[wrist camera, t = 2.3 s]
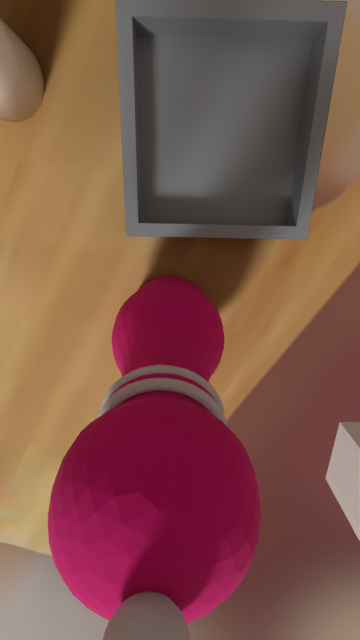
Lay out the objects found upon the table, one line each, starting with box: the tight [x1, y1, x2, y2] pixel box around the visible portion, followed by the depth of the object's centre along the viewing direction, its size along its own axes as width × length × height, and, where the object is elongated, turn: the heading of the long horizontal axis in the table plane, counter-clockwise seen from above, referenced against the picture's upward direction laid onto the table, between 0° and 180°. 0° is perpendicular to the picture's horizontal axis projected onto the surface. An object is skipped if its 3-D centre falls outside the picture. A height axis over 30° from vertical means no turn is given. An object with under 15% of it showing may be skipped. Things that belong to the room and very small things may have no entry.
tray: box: [116, 0, 347, 240], centre depth 18 cm, size 12×12×2 cm
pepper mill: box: [48, 276, 261, 640], centre depth 14 cm, size 7×7×20 cm
